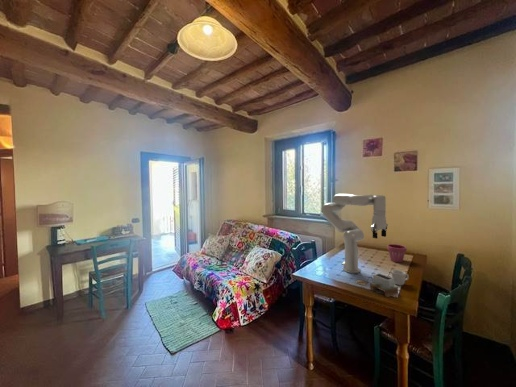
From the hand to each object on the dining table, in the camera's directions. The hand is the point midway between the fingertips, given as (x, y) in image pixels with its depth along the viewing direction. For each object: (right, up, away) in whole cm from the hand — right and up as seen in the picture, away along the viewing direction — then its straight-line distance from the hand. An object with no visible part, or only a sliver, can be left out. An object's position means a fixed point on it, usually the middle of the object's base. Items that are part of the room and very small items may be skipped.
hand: (379, 237), depth 158 cm
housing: (-6, -27, -16) cm, 32 cm away
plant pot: (+37, -29, +40) cm, 61 cm away
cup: (+11, -31, -6) cm, 33 cm away
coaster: (-14, -31, -3) cm, 34 cm away
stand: (-6, -31, -16) cm, 35 cm away
